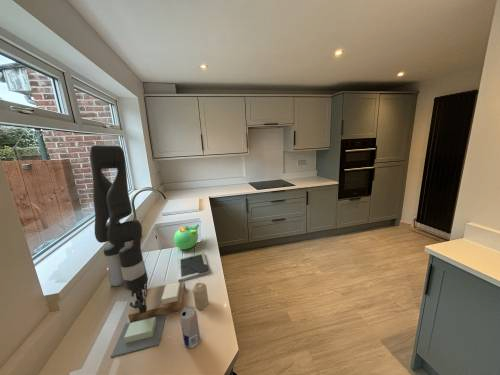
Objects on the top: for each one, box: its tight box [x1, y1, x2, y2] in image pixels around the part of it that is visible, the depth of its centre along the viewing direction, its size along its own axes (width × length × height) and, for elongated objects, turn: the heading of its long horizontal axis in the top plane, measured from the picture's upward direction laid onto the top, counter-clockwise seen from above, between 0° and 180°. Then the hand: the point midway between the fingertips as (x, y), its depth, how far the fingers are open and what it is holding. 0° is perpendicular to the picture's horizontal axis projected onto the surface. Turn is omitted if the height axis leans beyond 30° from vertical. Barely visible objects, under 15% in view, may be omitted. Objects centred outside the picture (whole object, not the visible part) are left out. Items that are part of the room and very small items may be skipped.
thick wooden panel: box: [127, 280, 187, 323], centre depth 87 cm, size 20×14×4 cm
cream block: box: [162, 281, 180, 304], centre depth 86 cm, size 9×6×2 cm, turn 13°
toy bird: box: [173, 223, 200, 250], centre depth 135 cm, size 18×17×15 cm
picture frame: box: [177, 252, 210, 282], centre depth 113 cm, size 16×3×21 cm
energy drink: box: [179, 306, 201, 349], centre depth 68 cm, size 5×5×12 cm
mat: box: [110, 314, 167, 358], centre depth 73 cm, size 15×13×1 cm
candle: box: [192, 282, 209, 311], centre depth 84 cm, size 6×6×10 cm
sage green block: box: [124, 317, 156, 343], centre depth 73 cm, size 9×6×2 cm, turn 103°
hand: (143, 311), depth 78 cm, fingers closed
